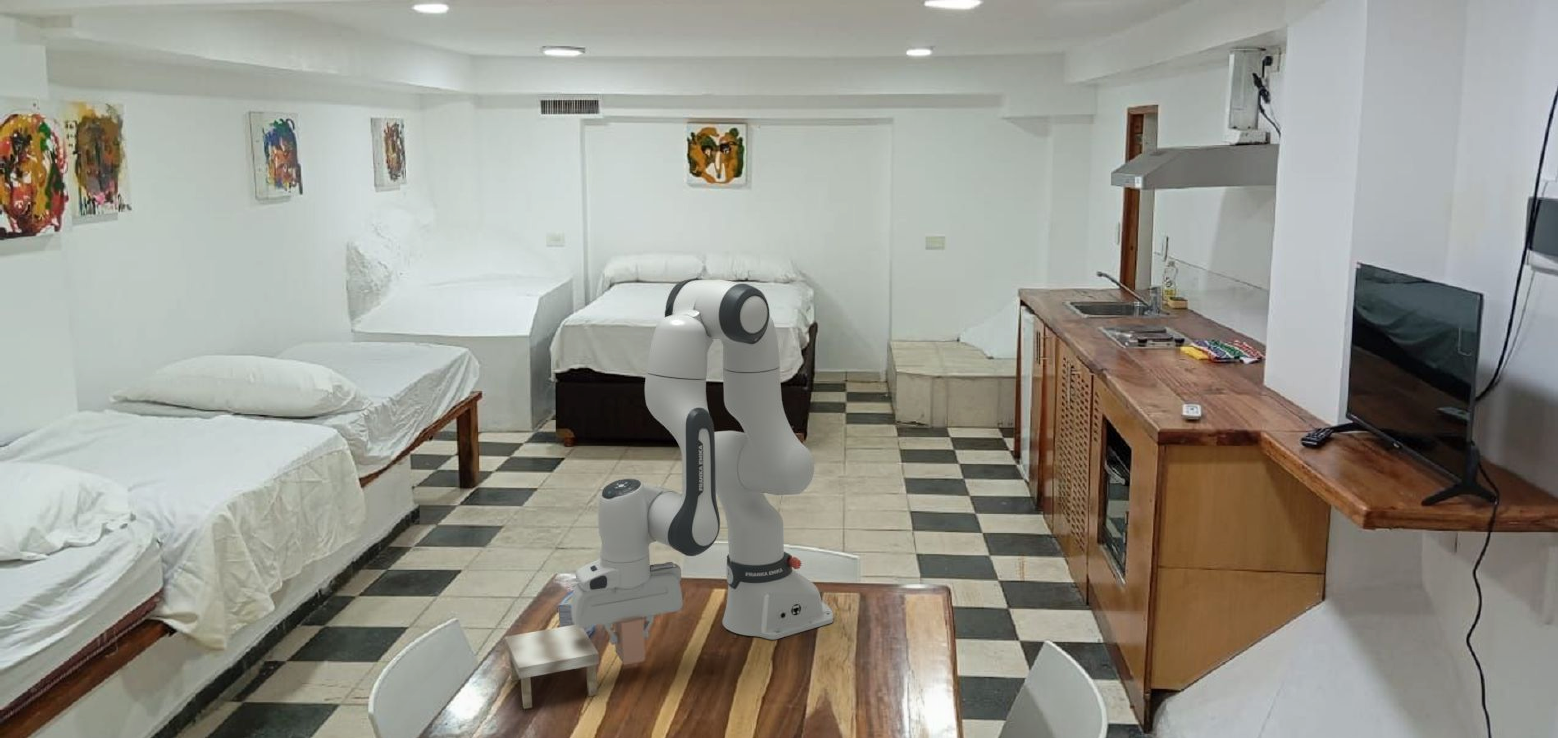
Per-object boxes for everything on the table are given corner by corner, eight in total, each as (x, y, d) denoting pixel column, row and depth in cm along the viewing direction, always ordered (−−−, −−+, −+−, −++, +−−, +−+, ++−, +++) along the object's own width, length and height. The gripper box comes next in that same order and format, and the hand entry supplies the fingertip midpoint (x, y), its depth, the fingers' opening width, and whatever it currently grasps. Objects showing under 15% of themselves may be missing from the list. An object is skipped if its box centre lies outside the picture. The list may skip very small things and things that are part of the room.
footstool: (582, 663, 228) (580, 623, 227) (600, 695, 215) (598, 653, 214) (507, 677, 223) (504, 636, 221) (521, 710, 210) (518, 667, 209)
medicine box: (581, 646, 236) (579, 604, 234) (560, 645, 236) (557, 603, 235) (595, 630, 243) (593, 589, 241) (574, 628, 244) (572, 588, 242)
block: (636, 647, 227) (634, 607, 225) (645, 660, 221) (643, 619, 219) (615, 651, 225) (613, 611, 223) (624, 664, 220) (621, 623, 218)
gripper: (675, 554, 226) (678, 623, 229) (566, 572, 219) (571, 643, 222) (685, 565, 220) (688, 636, 223) (574, 584, 213) (579, 657, 216)
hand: (629, 640), depth 222 cm, fingers closed on block, 4 cm apart
